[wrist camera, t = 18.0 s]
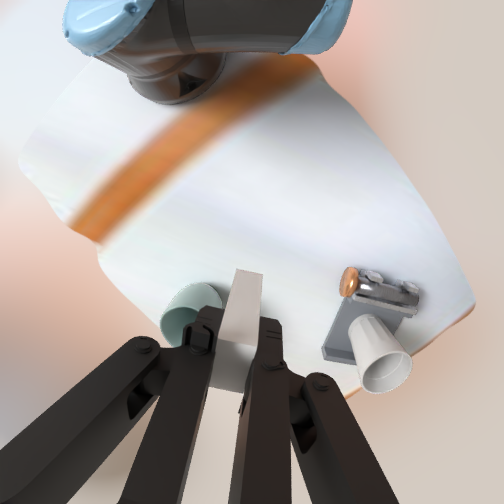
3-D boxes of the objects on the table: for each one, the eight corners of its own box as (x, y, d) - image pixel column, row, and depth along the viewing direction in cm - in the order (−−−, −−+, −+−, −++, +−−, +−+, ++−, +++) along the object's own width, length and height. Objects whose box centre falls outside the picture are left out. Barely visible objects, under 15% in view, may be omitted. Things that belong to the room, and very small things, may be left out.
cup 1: (235, 307, 46) (226, 342, 37) (196, 325, 48) (181, 360, 38) (209, 267, 45) (193, 295, 35) (170, 288, 46) (148, 318, 37)
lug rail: (357, 263, 43) (366, 274, 39) (416, 281, 43) (428, 292, 39) (347, 289, 44) (354, 301, 40) (406, 304, 44) (416, 316, 40)
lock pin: (337, 288, 43) (343, 301, 39) (347, 262, 42) (355, 273, 37) (403, 305, 43) (414, 318, 39) (414, 282, 42) (426, 293, 38)
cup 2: (383, 302, 44) (411, 342, 32) (389, 338, 46) (413, 381, 34) (338, 319, 45) (356, 364, 34) (348, 354, 47) (364, 400, 36)
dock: (347, 289, 44) (352, 298, 41) (406, 304, 44) (413, 313, 41) (321, 348, 48) (324, 359, 45) (377, 358, 48) (382, 369, 45)
